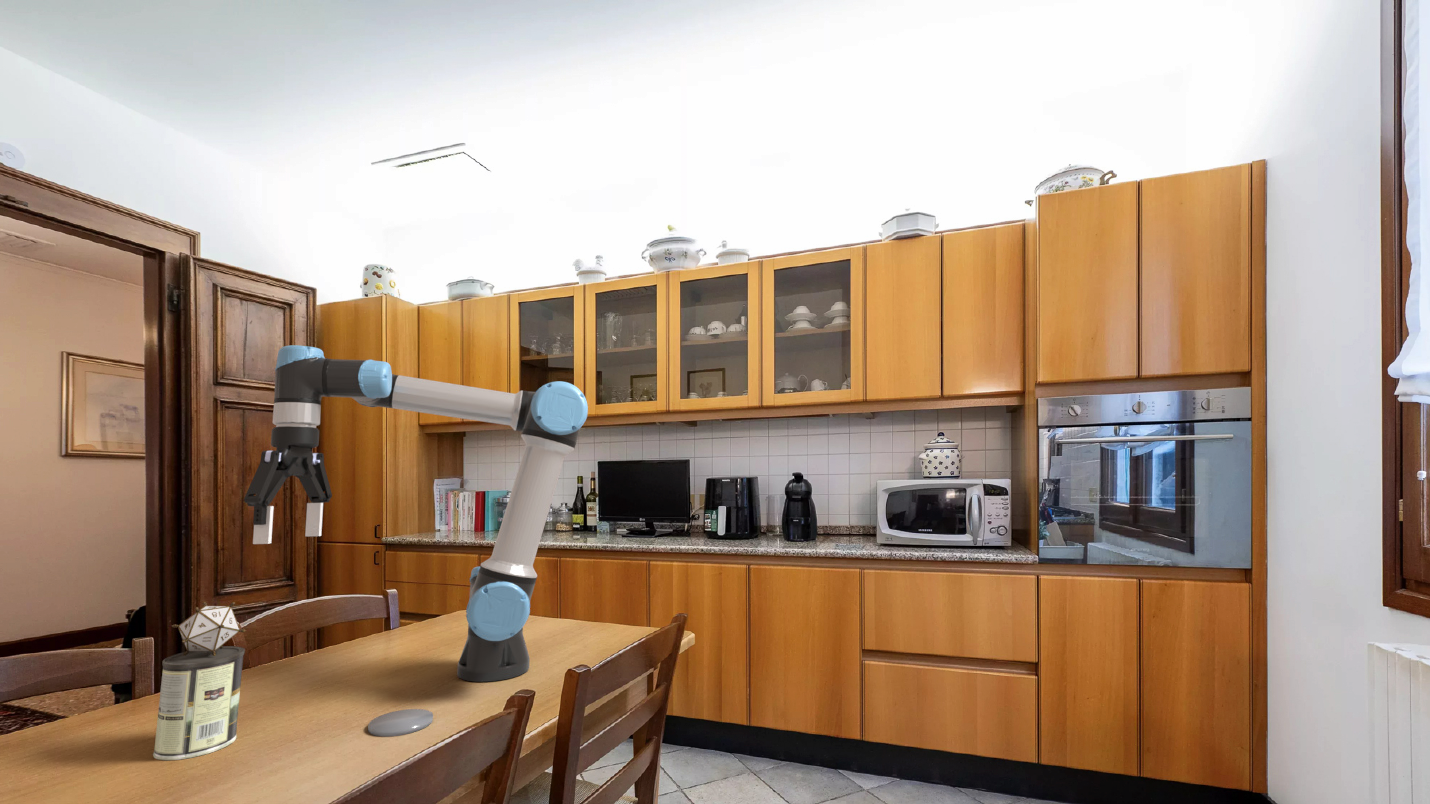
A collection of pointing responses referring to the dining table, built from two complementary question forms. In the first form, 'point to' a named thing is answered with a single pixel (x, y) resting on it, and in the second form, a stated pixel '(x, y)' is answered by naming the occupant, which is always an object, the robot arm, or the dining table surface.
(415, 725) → the slate coaster
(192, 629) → the game die
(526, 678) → the dining table surface
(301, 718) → the dining table surface
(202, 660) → the coffee can
